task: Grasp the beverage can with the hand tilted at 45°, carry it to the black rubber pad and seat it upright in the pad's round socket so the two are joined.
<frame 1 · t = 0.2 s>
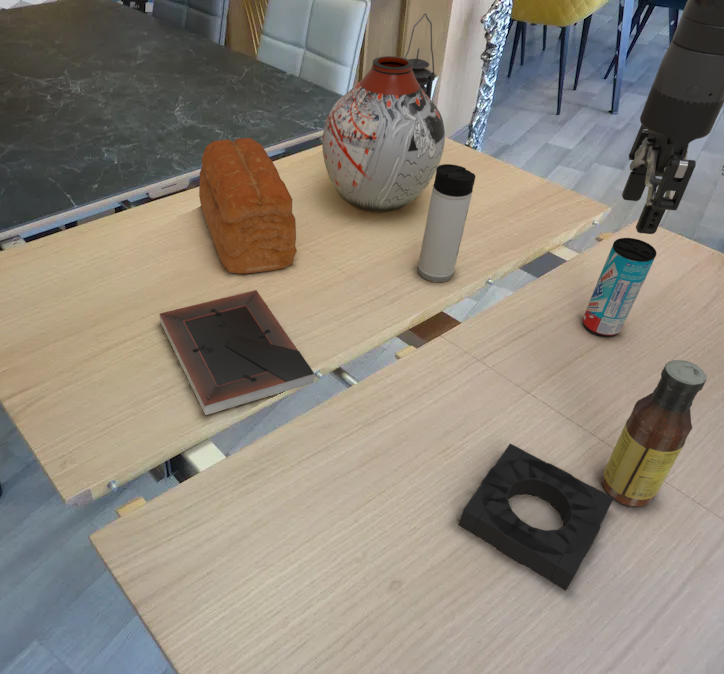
hand: (636, 215, 85), 25 cm above the table, tool pointing down, fingers open, 8 cm apart
bread: (245, 234, 127), on the table
pad: (532, 518, 80), on the table
vase: (374, 202, 138), on the table
sauce bottle: (623, 488, 83), on the table
lantern: (403, 151, 156), on the table
travel mug: (434, 273, 118), on the table
picture frame: (233, 354, 101), on the table
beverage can: (600, 327, 108), on the table
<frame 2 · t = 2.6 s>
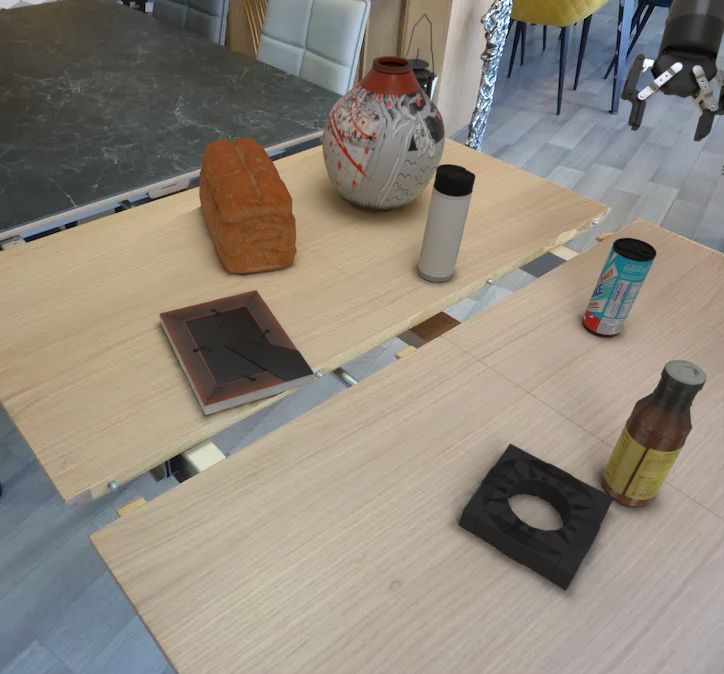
hand: (666, 134, 96), 29 cm above the table, tool tilted 45°, fingers open, 8 cm apart
nothing on the table moved.
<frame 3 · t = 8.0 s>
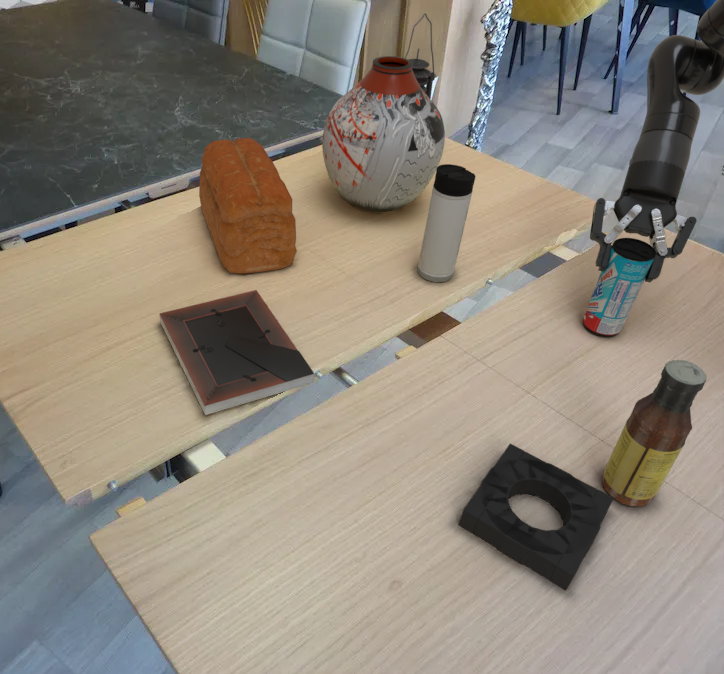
hand: (625, 275, 99), 11 cm above the table, tool tilted 45°, fingers closed on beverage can, 6 cm apart
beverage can: (600, 327, 108), on the table, touching gripper
everything else where it was.
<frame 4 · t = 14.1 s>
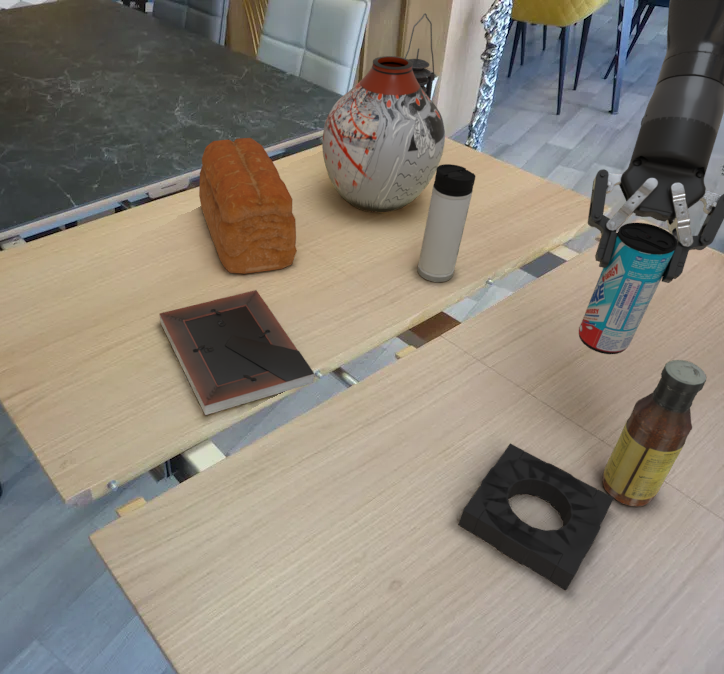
hand: (635, 273, 73), 26 cm above the table, tool tilted 45°, fingers closed on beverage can, 6 cm apart
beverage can: (601, 341, 82), point 15 cm above the table, touching gripper
everything else where it was.
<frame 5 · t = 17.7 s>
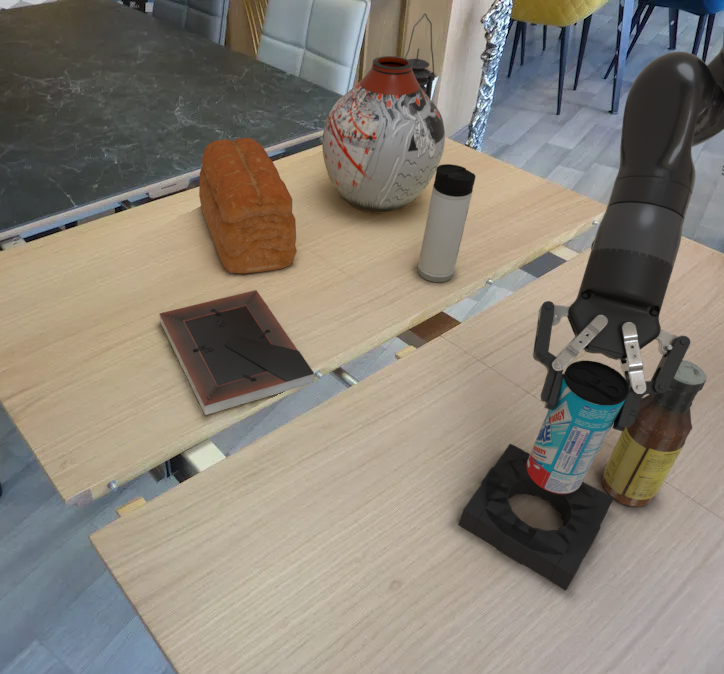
hand: (583, 418, 66), 19 cm above the table, tool tilted 45°, fingers closed on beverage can, 6 cm apart
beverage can: (551, 477, 75), point 8 cm above the table, touching gripper
everything else where it was.
when the fingers open (11 cm above the table, at t = 20.4 s): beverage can stays where it is, resting in pad.
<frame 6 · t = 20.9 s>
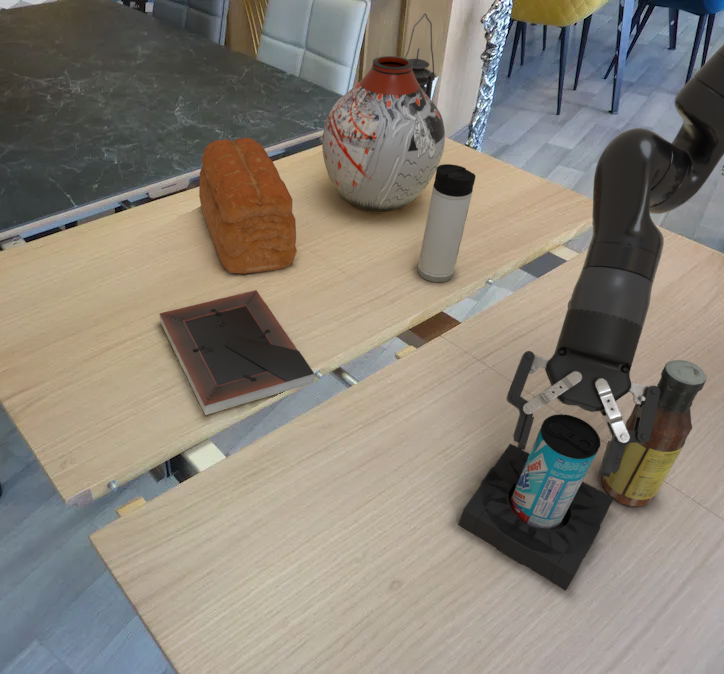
hand: (561, 462, 71), 12 cm above the table, tool tilted 45°, fingers open, 8 cm apart
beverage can: (531, 518, 80), resting in pad
everything else where it was.
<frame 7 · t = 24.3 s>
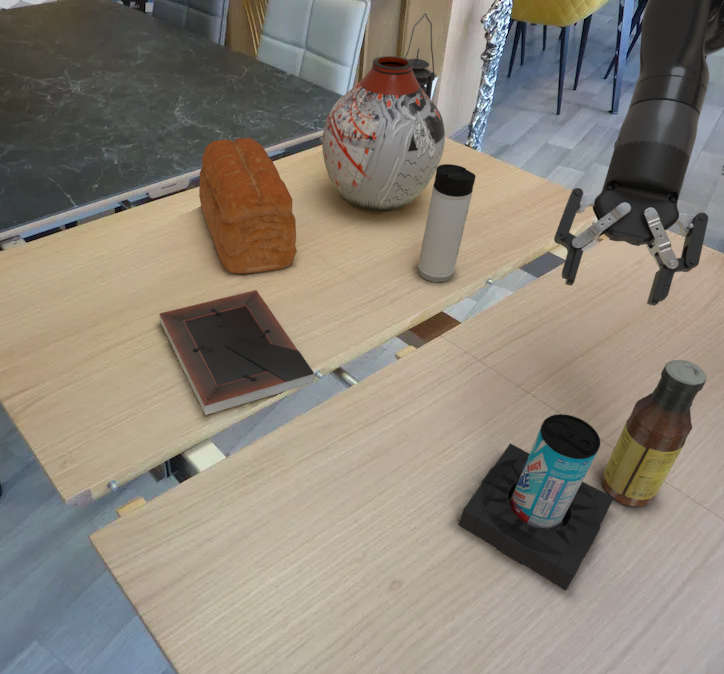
hand: (610, 293, 73), 25 cm above the table, tool tilted 45°, fingers open, 8 cm apart
nothing on the table moved.
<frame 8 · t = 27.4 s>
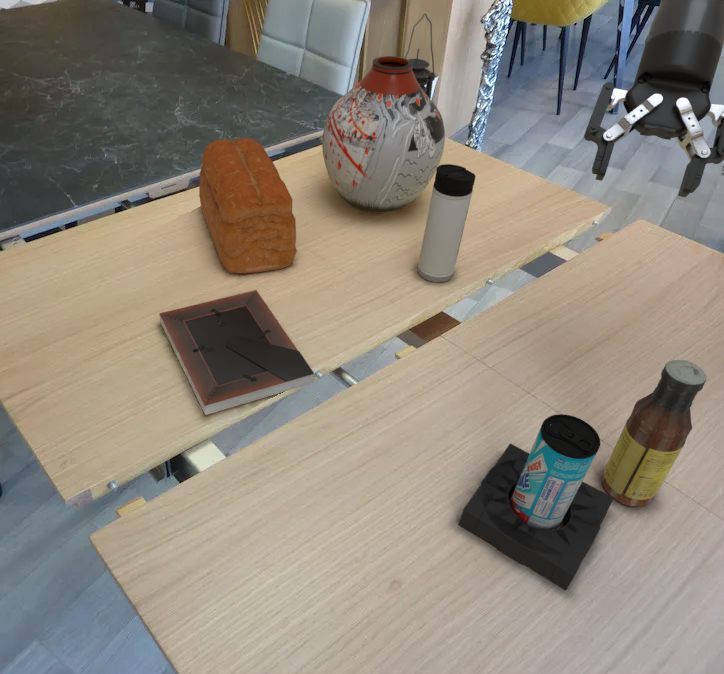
hand: (641, 186, 73), 34 cm above the table, tool tilted 45°, fingers open, 8 cm apart
nothing on the table moved.
at the end: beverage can 0.1 cm off-centre in the pad, point 0.0 cm above the pad's base; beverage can tilted 0°; the gripper is holding nothing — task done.
